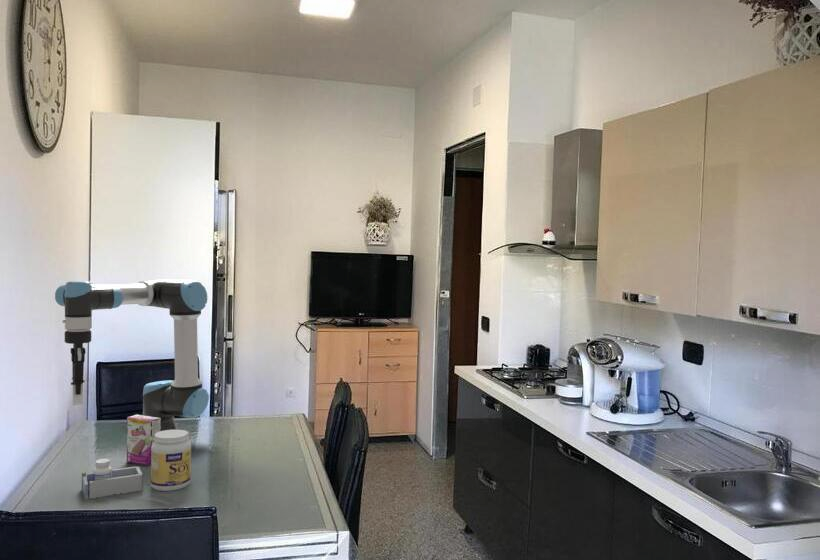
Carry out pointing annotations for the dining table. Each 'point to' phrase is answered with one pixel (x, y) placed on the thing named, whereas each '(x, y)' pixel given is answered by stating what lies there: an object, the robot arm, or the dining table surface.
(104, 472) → the pill bottle
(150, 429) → the candy bar box
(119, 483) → the open rectangular tray
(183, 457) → the supplement tub
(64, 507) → the dining table surface
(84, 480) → the cover flap
